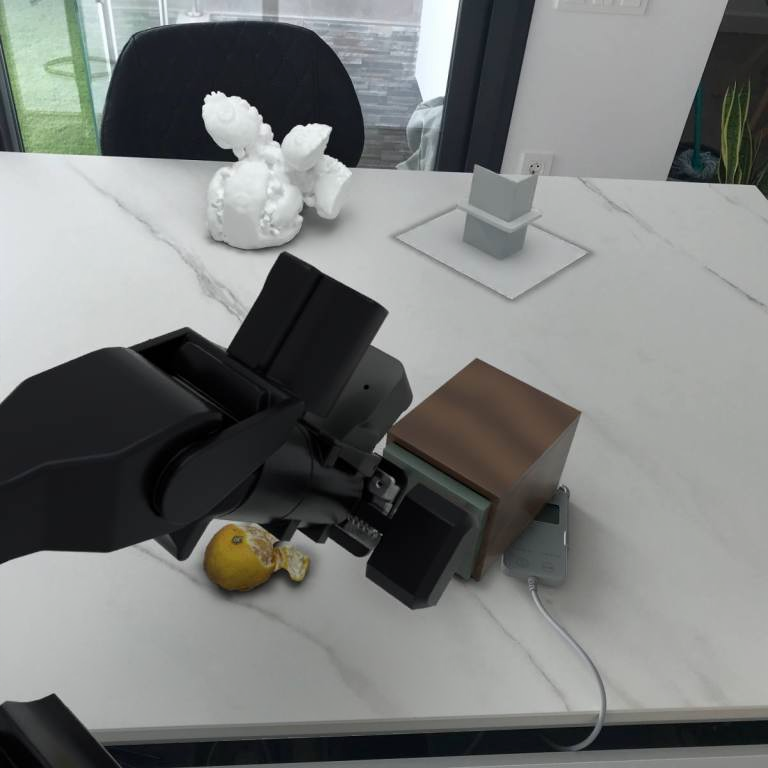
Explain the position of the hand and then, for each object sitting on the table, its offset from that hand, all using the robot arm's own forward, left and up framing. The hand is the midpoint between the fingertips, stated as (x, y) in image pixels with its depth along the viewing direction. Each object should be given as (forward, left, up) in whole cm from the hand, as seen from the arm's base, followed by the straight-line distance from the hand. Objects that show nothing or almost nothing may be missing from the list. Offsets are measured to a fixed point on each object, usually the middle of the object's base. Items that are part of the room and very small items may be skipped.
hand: (380, 494), depth 55 cm
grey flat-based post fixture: (+63, -10, -14) cm, 65 cm away
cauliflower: (+62, +21, -14) cm, 67 cm away
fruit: (+3, +9, -14) cm, 17 cm away
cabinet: (+13, -8, -14) cm, 20 cm away
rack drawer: (+10, -6, -13) cm, 17 cm away
